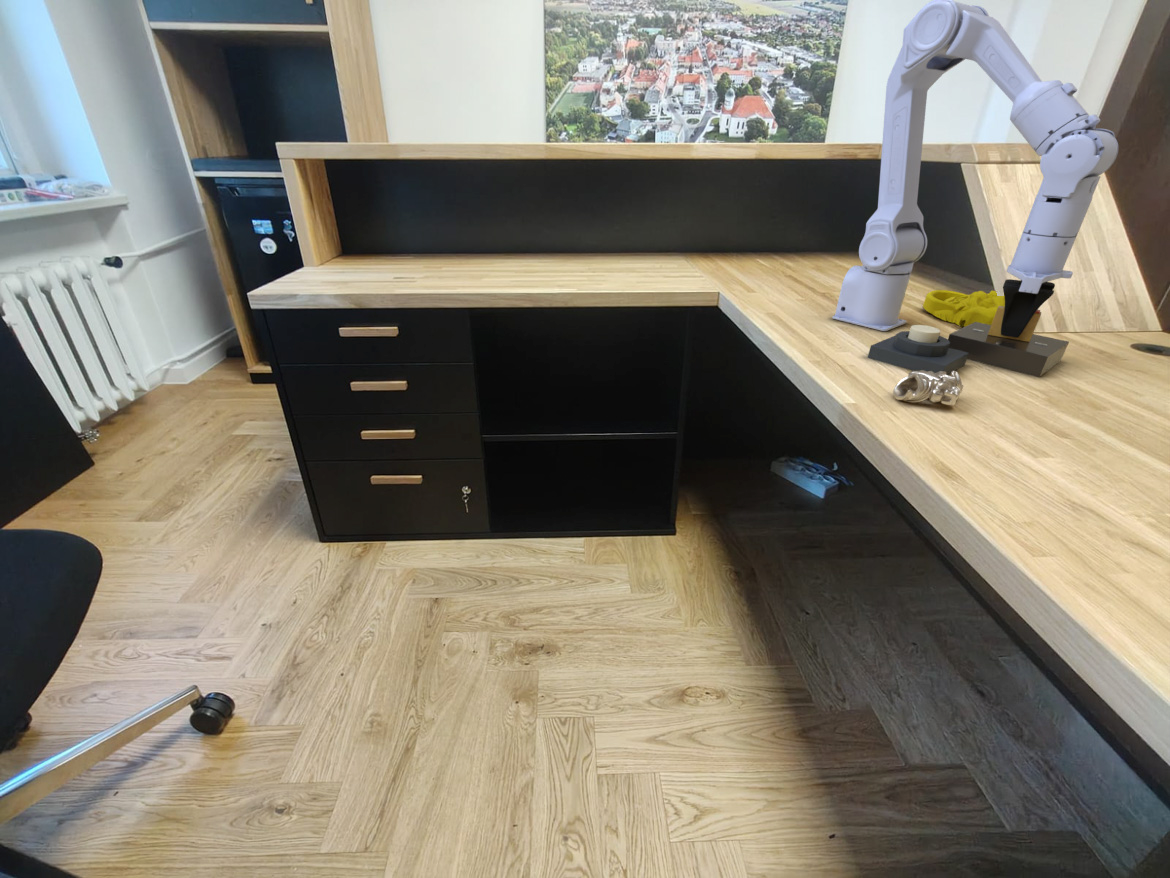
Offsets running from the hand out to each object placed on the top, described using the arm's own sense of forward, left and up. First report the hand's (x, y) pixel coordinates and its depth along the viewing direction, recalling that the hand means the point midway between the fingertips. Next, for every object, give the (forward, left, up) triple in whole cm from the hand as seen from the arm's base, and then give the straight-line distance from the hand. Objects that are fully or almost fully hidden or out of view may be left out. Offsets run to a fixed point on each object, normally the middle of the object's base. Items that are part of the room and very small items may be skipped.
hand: (1009, 334), depth 79 cm
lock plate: (0, 0, -3) cm, 3 cm away
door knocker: (-11, +21, -4) cm, 24 cm away
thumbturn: (0, 0, 0) cm, 0 cm away
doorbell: (-7, -12, -3) cm, 14 cm away
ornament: (0, -25, -4) cm, 25 cm away
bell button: (-7, -12, 0) cm, 14 cm away
